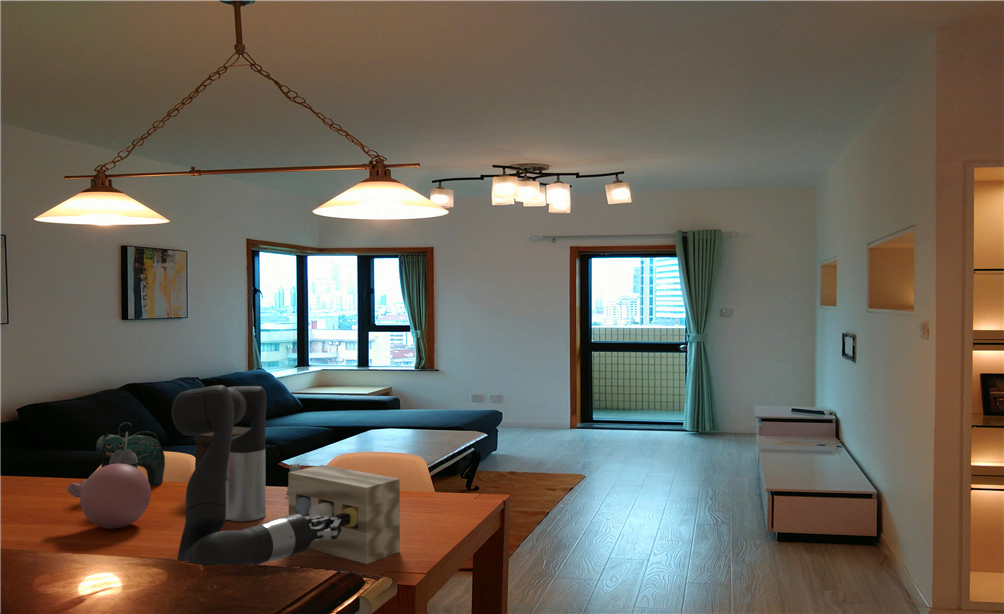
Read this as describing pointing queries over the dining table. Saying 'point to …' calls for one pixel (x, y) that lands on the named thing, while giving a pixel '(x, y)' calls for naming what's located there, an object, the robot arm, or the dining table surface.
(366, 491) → the block
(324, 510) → the white button
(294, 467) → the rook chess piece
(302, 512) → the slate button
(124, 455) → the beverage cup
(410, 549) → the dining table surface
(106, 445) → the ceramic cat
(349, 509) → the ochre button
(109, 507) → the balloon
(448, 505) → the dining table surface
